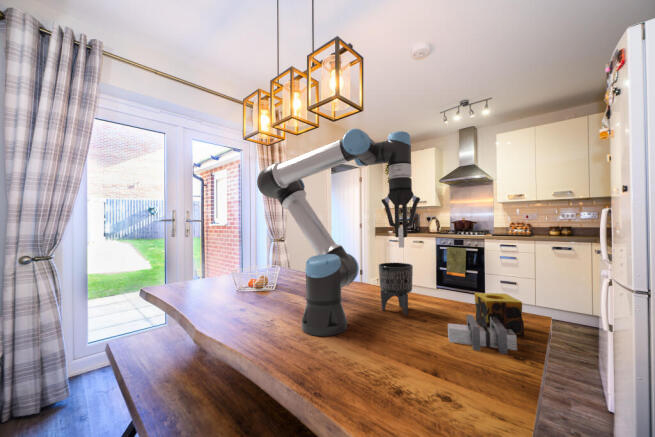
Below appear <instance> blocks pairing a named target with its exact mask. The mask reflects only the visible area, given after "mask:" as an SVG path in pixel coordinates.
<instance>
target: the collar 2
mask: <svg viewBox="0 0 655 437" xmlns="http://www.w3.org/2000/svg"><path fill="white" fill-rule="evenodd" d="M490 328H496V329H497V331H498V348H497V350H498V352H499V354H503V355H508V349H507V330H506V329H505V328H504V326H503V325H502V324H501V323H500V321H499V320H498V319H497V318H496V317H490Z"/></svg>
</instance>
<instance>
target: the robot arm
mask: <svg viewBox="0 0 655 437" xmlns="http://www.w3.org/2000/svg"><path fill="white" fill-rule="evenodd" d="M350 161H354V162H355V165H356V166H359V167H368V166H375V165H380V164H387V163H388V178H389V180H388V193H387V196H386V197H385V198H382V199H381V203H382V204H383V205H384V209H385V213H386V217H387V220H388V224H389V226H390V227H392V228H394V234H395V236H394V237H395V238H398V248H405V238H408V228H409V227H412V226H413V225H414V220H415V216H416V212H417V208H418V204H419V203H420V201H421V198H420V197H419V196H417V195H415V194H414V192H413V184H412V183H413V182H412V178H411V177H412V144H411V134H410V133H409V132H407V131H403V130H399V131H395V132H391V133H390V134H389V135H388V136H387V140H384V141H378V142H375V141H374V140H373V139H371V138H370V136H369V134H368V133H366V132H365V131H364V130H362V129H359V128H352V129H349V130H347V132H346V133H345V134H344V136H343V138H341V139H339V140H337V141H336V140H335V141H334V142H331V143H329V144H326V145H324V146H322V147H319V148H317V149H315V150H312V151H310V152H307V153H304V154H302V155H299V156H298V157H295V158H293V159H291V160H288V161H285V162H282V163H280V162H275V163H273V164H270V165H268V166H266V167H265V168H264V169H262V170H261V171H260V172H259V173H258V176H257V180H256V183H257V184H256V186H257V188H258V190H259V192H260V193H261V194H262V195H263V196H265V197H267V198H271V199H277V201H278V203H279V204H280V206H281V207H282V208H283V209H286V210H288V211H289V213H290V215H291V216H292V217H293V219H294V221H295V222H296V224H297V226H298V228H300V230H301V232H302V234H303V235H304V237H305V238H306V240H307V241H308V243H309V244H310V246H311V248H312V250H313V251H314V252H315V254H316V255H313V256H311V257H309V258H308V259H307V260H306V261H305V262H306V263H305V270H304V271H305V291H306V292H305V295H306V296H305V297H306V305H305V309H304V311H303V316H302V318H301V330H302V331H303V332H304V333H306V334H308V335H311V336H317V337H328V336H329V337H330V336H331V337H332V336H336V335H339V334H341V333H343V332H345V331H346V330H347V329H348V318H347V316H346V313H345V310H344V306H343V304H342V288H344V287H346V286H349V285H350V284H352V283H353V282H354V280H356V278H357V277H358V275H359V269H360V268H359V262H358V261H357V259H356V258H355V257H354V256H353V255H352V254H350V253H347V251H346V250H345V248H344V247H343V245H342V244H341V245H340V244H337V243H336V242H335V241H334V239H333V238H332V236H331V234H330V233H329V231H328V230H327V228H326V227H325V225H324V223H322V221H321V220H320V218H319V216H318V215H317V214H316V212H315V211H314V209H313V207H312V206H311V204H310V203H309V200H307V198H306V197H307V192H306V190H305V183H304V181H303V179H306V178H308V177H310V176H313V175H316V174H318V173H322V172H324V171H326V170H329V169H332V168H335V167H337V166H340V165H343V164H345V163H348V162H350ZM411 200H412V201H411ZM390 202H391V203H392V204H393V205H394V206H393V209H394V219H393V215H392V214H393V213H392V211H391V206H390V205H389V203H390ZM410 202H412V205H411V206H412V207H411V212H410V215H409V220H408V204H409V203H410ZM400 206H401V208H402V209H401V210H402V227H400Z"/></svg>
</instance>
